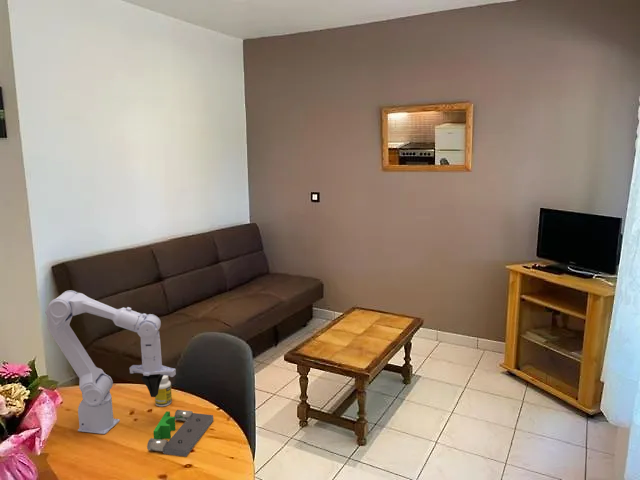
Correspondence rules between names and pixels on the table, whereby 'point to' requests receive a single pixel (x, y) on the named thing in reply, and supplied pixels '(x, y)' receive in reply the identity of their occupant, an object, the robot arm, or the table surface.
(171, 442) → the fixed leaf
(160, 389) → the supplement bottle
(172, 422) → the green notched block
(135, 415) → the table surface
